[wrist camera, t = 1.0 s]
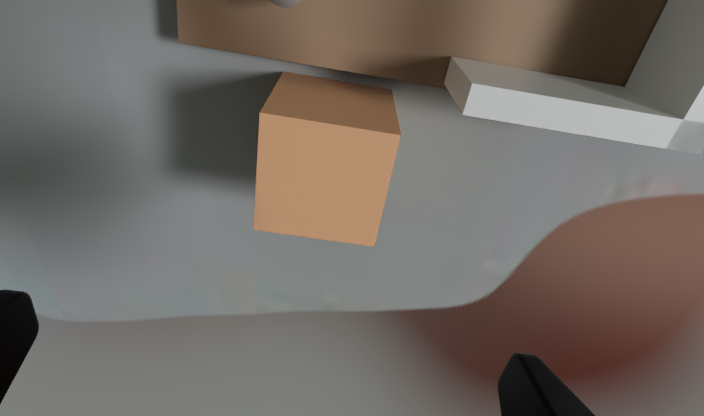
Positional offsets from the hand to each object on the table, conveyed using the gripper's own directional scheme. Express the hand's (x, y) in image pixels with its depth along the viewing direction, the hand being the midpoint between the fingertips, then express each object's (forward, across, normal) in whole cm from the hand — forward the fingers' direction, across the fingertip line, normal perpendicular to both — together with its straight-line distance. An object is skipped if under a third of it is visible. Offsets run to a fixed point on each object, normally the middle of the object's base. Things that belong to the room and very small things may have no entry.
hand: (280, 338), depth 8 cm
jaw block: (+12, 0, +1) cm, 12 cm away
